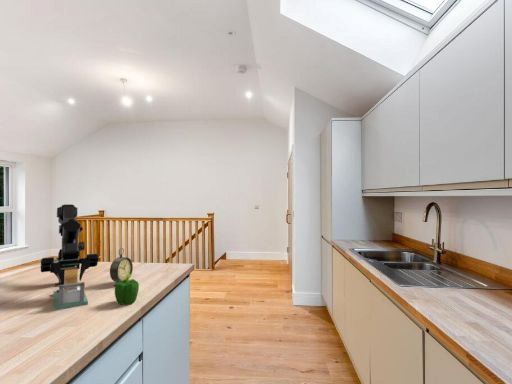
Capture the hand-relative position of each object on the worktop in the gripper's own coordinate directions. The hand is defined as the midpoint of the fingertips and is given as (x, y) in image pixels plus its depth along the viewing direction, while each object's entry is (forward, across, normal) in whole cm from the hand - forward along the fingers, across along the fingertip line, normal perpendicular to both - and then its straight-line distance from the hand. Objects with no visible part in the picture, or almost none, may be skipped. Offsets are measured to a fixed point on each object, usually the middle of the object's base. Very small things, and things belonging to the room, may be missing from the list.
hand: (71, 281), depth 108 cm
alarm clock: (-5, +20, +16) cm, 26 cm away
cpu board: (+3, 0, +8) cm, 8 cm away
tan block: (+6, 0, +3) cm, 7 cm away
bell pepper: (+14, +17, -3) cm, 22 cm away
